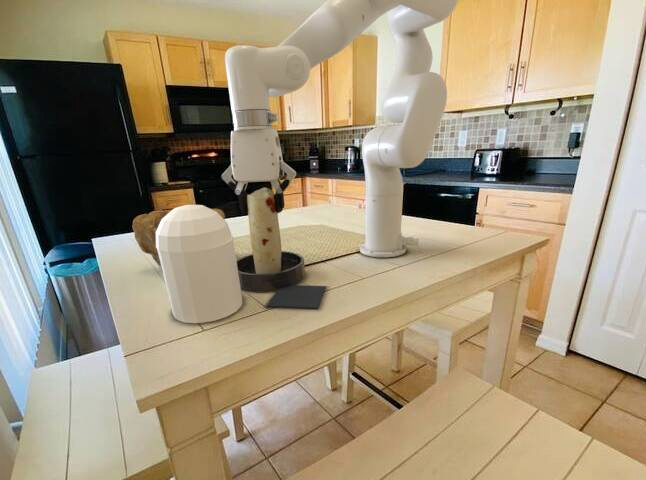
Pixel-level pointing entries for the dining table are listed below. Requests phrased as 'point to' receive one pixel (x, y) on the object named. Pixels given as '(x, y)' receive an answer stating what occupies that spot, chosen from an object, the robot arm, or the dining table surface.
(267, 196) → the food model
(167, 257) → the container
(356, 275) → the dining table surface
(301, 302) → the mat
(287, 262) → the pan
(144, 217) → the rough brown rock
